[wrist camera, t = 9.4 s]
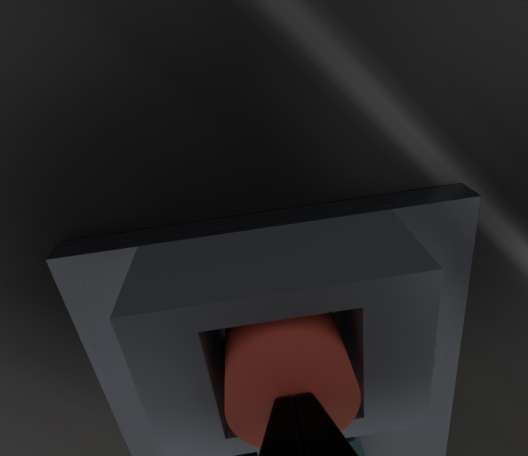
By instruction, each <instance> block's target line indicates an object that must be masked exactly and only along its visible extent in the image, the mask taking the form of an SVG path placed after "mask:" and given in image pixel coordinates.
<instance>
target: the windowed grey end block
mask: <svg viewBox="0 0 528 456" xmlns="http://www.w3.org/2000/svg"><path fill="white" fill-rule="evenodd" d="M442 273H443V269H442V267H441V266H440V265H439V264H438V263H437V262H436V260H435V259H434V258H433V257H432V256H431V255H430V253H429V252H428V251H427V250H426V249H425V248H424V246H423V245H422V244H421V243H420V242H419V241H418V239H417V238H416V237H415V236H414V235H413V234H412V232H411V231H410V230H409V229H408V228H407V227H406V225H405V224H404V223H403V222H402V221H401V220H400V218H399V217H398V216H397V215H396V214H395V213H394V211H393V210H392V209H390V210H383V211H376V212H369V213H363V214H356V215H349V216H342V217H335V218H328V219H322V220H315V221H308V222H301V223H294V224H288V225H281V226H274V227H267V228H260V229H253V230H247V231H240V232H233V233H226V234H219V235H213V236H206V237H199V238H192V239H185V240H178V241H172V242H165V243H158V244H151V245H144V246H138V247H137V249H136V252H135V254H134V257H133V260H132V262H131V265H130V267H129V270H128V272H127V275H126V278H125V280H124V283H123V285H122V288H121V291H120V293H119V296H118V298H117V301H116V303H115V306H114V309H113V311H112V314H111V316H110V321H111V324H112V327H113V329H114V332H115V334H116V337H117V340H118V342H119V345H120V347H121V350H122V353H123V355H124V358H125V361H126V363H127V366H128V368H129V371H130V374H131V376H132V379H133V381H134V384H135V387H136V389H137V392H138V394H139V397H140V400H141V402H142V405H143V407H144V410H145V413H146V415H147V418H148V420H149V423H150V426H151V428H152V431H153V434H154V436H155V439H156V441H157V444H158V447H159V449H160V452H161V454H162V456H233V455H240V454H246V453H253V452H259V451H260V448H258V447H255V446H252V445H250V444H248V443H246V442H245V441H243V440H242V439H240V438H239V437H238V436H237V435H235V434H234V432H233V431H232V430H231V429H230V427H229V425H228V423H227V421H226V418H225V348H224V343H223V339H222V334H221V330H220V329H223V328H230V327H236V326H243V325H250V324H256V323H263V322H270V321H276V320H283V319H290V318H296V317H303V316H310V315H316V314H323V313H330V312H335V318H336V324H337V326H338V329H339V332H340V335H341V338H342V340H343V343H344V346H345V349H346V352H347V354H348V357H349V360H350V363H351V366H352V368H353V371H354V374H355V377H356V379H357V382H358V385H359V388H360V393H361V403H360V407H359V410H358V412H357V415H356V416H355V418H354V420H353V421H352V422H351V423H350V425H349V426H348V427H347V428H346V429H345V430H344V431H342V433H343V435H344V436H345V438H349V437H356V436H362V435H369V434H375V433H382V432H388V431H394V430H401V429H407V428H414V427H420V426H427V425H428V415H429V405H430V395H431V385H432V375H433V365H434V354H435V344H436V334H437V324H438V314H439V304H440V294H441V283H442Z"/></svg>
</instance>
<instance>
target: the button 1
mask: <svg viewBox="0 0 528 456" xmlns="http://www.w3.org/2000/svg"><path fill="white" fill-rule="evenodd" d="M307 392H311V393H313V394H314V395H315V396H316V398H317V399H318V400H319V402H320V403H321V405H322V406H323V407H324V409H325V410H326V411H327V413H328V414H329V416H330V417H331V418H332V420H333V421H334V422H335V424H336V425H337V427H338V428H339V429H340V431H341V432H342V431H344V430H345V429H346V428H347V427H348V426H349V425H350V423H351V422H352V421H353V420H354V418H355V416H356V415H357V412H358V410H359V407H360V403H361V393H360V388H359V385H358V382H357V379H356V377H355V374H354V371H353V368H352V366H351V363H350V360H349V357H348V354H347V352H346V349H345V346H344V343H343V340H342V338H341V335H340V332H339V329H338V326H337V324H336V321H335V318H334V315H333V312H330V313H323V314H316V315H310V316H303V317H296V318H290V319H283V320H276V321H270V322H263V323H256V324H250V325H243V326H236V327H230V328H225V418H226V421H227V423H228V425H229V427H230V429H231V430H232V431H233V432H234V434H235V435H237V436H238V437H239V438H240V439H242V440H243V441H245V442H246V443H248V444H250V445H252V446H255V447H258V448H261V445H262V441H263V437H264V434H265V430H266V427H267V423H268V420H269V416H270V413H271V409H272V406H273V402H274V400H275V398H276V397H280V396H287V395H292V396H293V397H294V396H295V395H296V394H300V393H307Z"/></svg>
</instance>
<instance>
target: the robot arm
mask: <svg viewBox="0 0 528 456" xmlns="http://www.w3.org/2000/svg"><path fill="white" fill-rule="evenodd" d="M258 456H359V455H358V454H357V453H356V451H355V450H354V449H353V447H352V446H351V444H350V443H349V442H348V440H347V439H346V438H345V436H344V435H343V433H342V432H341V431H340V429H339V428H338V427H337V425H336V424H335V422H334V421H333V420H332V418H331V417H330V416H329V414H328V413H327V411H326V410H325V409H324V407H323V406H322V405H321V403H320V402H319V400H318V399H317V398H316V396H315V395H314V394H313V393H311V392H307V393H300V394H296V395H295V396H294V397H293V396H292V395H287V396H280V397H276V398H275V400H274V402H273V406H272V409H271V413H270V416H269V420H268V423H267V427H266V430H265V434H264V437H263V441H262V445H261V448H260V452H259V455H258Z"/></svg>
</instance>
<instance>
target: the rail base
mask: <svg viewBox="0 0 528 456" xmlns="http://www.w3.org/2000/svg"><path fill="white" fill-rule="evenodd" d="M480 200H481V196H480V195H479V194H477V193H476V192H475V191H473V190H472V189H470V188H469V187H467V186H466V185H465V184H463V183H459V184H453V185H446V186H439V187H432V188H425V189H418V190H411V191H405V192H398V193H391V194H384V195H377V196H370V197H363V198H357V199H350V200H343V201H336V202H329V203H322V204H316V205H309V206H302V207H295V208H288V209H281V210H274V211H268V212H261V213H254V214H247V215H240V216H233V217H226V218H220V219H213V220H206V221H199V222H192V223H185V224H179V225H172V226H165V227H158V228H151V229H144V230H137V231H131V232H124V233H117V234H110V235H103V236H96V237H89V238H83V239H76V240H69V241H62V242H59V243H58V244H57V245H56V247H55V248H54V250H53V251H52V252H51V254H50V255H49V256H48V258H47V259H46V262H47V264H48V266H49V269H50V271H51V273H52V275H53V278H54V280H55V282H56V285H57V287H58V289H59V291H60V294H61V296H62V298H63V300H64V303H65V305H66V307H67V310H68V312H69V314H70V316H71V319H72V321H73V323H74V325H75V328H76V330H77V332H78V335H79V337H80V339H81V341H82V344H83V346H84V348H85V351H86V353H87V355H88V357H89V360H90V362H91V364H92V366H93V369H94V371H95V373H96V376H97V378H98V380H99V382H100V385H101V387H102V389H103V392H104V394H105V396H106V398H107V401H108V403H109V405H110V407H111V410H112V412H113V414H114V417H115V419H116V421H117V423H118V426H119V428H120V430H121V433H122V435H123V437H124V439H125V442H126V444H127V446H128V448H129V451H130V453H131V455H132V456H162V454H161V452H160V449H159V447H158V444H157V441H156V439H155V436H154V434H153V431H152V428H151V426H150V423H149V420H148V418H147V415H146V413H145V410H144V407H143V405H142V402H141V400H140V397H139V394H138V392H137V389H136V387H135V384H134V381H133V379H132V376H131V374H130V371H129V368H128V366H127V363H126V361H125V358H124V355H123V353H122V350H121V347H120V345H119V342H118V340H117V337H116V334H115V332H114V329H113V327H112V324H111V321H110V316H111V314H112V311H113V309H114V306H115V303H116V301H117V298H118V296H119V293H120V291H121V288H122V285H123V283H124V280H125V278H126V275H127V272H128V270H129V267H130V265H131V262H132V260H133V257H134V254H135V252H136V249H137V247H138V246H144V245H151V244H158V243H165V242H172V241H178V240H185V239H192V238H199V237H206V236H213V235H219V234H226V233H233V232H240V231H247V230H253V229H260V228H267V227H274V226H281V225H288V224H294V223H301V222H308V221H315V220H322V219H328V218H335V217H342V216H349V215H356V214H363V213H369V212H376V211H383V210H390V209H392V210H393V211H394V213H395V214H396V215H397V216H398V217H399V218H400V220H401V221H402V222H403V223H404V224H405V225H406V227H407V228H408V229H409V230H410V231H411V232H412V234H413V235H414V236H415V237H416V238H417V239H418V241H419V242H420V243H421V244H422V245H423V246H424V248H425V249H426V250H427V251H428V252H429V253H430V255H431V256H432V257H433V258H434V259H435V260H436V262H437V263H438V264H439V265H440V266H441V267H442V269H443V273H442V283H441V294H440V304H439V314H438V324H437V334H436V344H435V354H434V365H433V375H432V385H431V395H430V405H429V415H428V425H427V426H420V427H414V428H407V429H401V430H394V431H388V432H382V433H375V434H369V435H362V436H356V437H349V438H346V439H347V440H348V441H355V440H360V441H361V444H362V447H363V450H364V453H365V456H446V448H447V441H448V434H449V426H450V419H451V412H452V405H453V397H454V390H455V383H456V375H457V368H458V361H459V354H460V346H461V339H462V332H463V324H464V317H465V310H466V303H467V295H468V288H469V281H470V273H471V266H472V259H473V251H474V244H475V237H476V230H477V222H478V215H479V208H480ZM333 315H334V318H335V312H333ZM335 321H336V318H335ZM220 330H221V334H222V339H223V343H224V348H225V328H223V329H220ZM259 452H260V451H259ZM259 452H253V453H246V454H240V455H233V456H258V455H259Z"/></svg>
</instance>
